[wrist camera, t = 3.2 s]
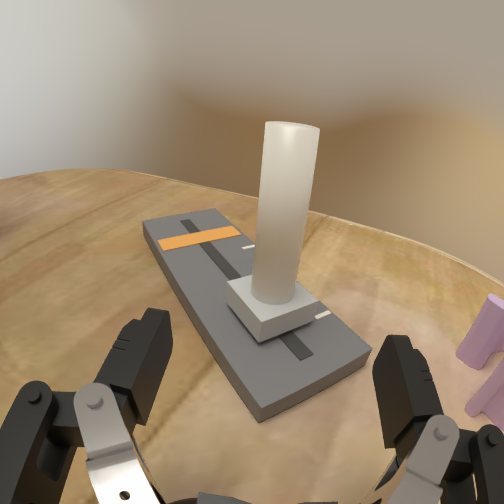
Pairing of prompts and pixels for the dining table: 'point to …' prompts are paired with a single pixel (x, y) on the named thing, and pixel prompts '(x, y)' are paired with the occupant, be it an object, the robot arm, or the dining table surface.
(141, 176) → the dining table surface
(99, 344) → the dining table surface
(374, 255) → the dining table surface
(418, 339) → the dining table surface
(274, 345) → the track board
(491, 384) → the clip
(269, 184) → the fader
